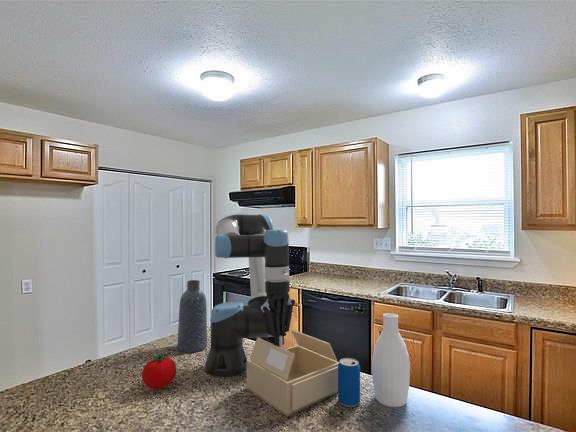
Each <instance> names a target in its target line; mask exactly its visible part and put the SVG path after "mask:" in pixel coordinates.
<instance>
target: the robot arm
mask: <svg viewBox="0 0 576 432" xmlns="http://www.w3.org/2000/svg"><path fill="white" fill-rule="evenodd" d="M215 234H216V236H215V239H214V255H215V257H216V258H218V259H219V258H220V259H221V258H222V259H223V258H224V259H235V258H243V259H244V258H248V268H249V282H250V283H249V284H250V299H248V301H247V305H244V303H243V301H239V300H238V301H234V300H231V301H226V302H221V303H219V304H216V305H214V306H213V308H212V309H211V313H210V314H211V316H210V320H209V321H210V348H209V351H208V354H207V358H206V361H205V363H204V365H205V366H204V368H205V369H204V370H205V372H206V373H207V374H208V375H210V376H213V377H217V378H221V377H222V378H227V377H234V376H237V375H240V374H242V373H244V372H245V371H247V361H248V359H247V355H246V352H245V349H244V344H243V343H244V341H243V340H244V339H255V338H256V339H257V337H258V338H270V337H272V338H273V339H272V340H273V342H272V344H274V345H276V346H278V347H280V348H283V349H284V345H285V337H286V336H287V332H289V331H290V327H291V322H292V313H293V309H294V306H295V303H296V300H295V299H292V298H290V294H289V293H290V289H291V286H290V285H291V284H290V280H289V278H290V257H289V256H290V254H289V253H290V249H289V248H290V247H289V246H290V245H289V244H290V243H289V242H290V238H289V232H288V230H287V229H274V224H273V221H272V218H271V217H270V216H269V215H266V214H238V213H237V214H231V215H227V216H225V217H223V218H221V219H220V220H219V221H218V222H217V224H216V225H215Z"/></svg>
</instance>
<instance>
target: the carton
mask: <svg viewBox="0 0 576 432" xmlns="http://www.w3.org/2000/svg"><path fill="white" fill-rule="evenodd" d="M284 349H285V350H287V351H289V352H291V353H294V354H295V356H294V359H293V362H292V365H291V368H290V372H289V375H288V378H287V380H286V379H284V378H282V377H280V376H279V375H277V374H275V373H273V372H271V371H270V370H268V369H266V368H264V367H262V366H261V365H259V364H257V363H255V362H253V361H252V360H250V359H247V369H246V390H247V391H249V393H251V394H253V395H255V397H257V398H259V399H260V400H262V401H263V402H264V403H265V404H266V403H267V405H269V406H271V407H272V408H273V409H274V410H277V411H278V412H279V413H281V415H284V416H285V417H287V418H288V417H289V416H291V415H294V414H295V413H299V411H302V410H304V409H306V408H309V407H311V406H313V405H315V404H317V403H319V402H322V401H324V400H325V399H327V398H329V397H333V396H334V395H336V394H338V364H339V363H340V361H338V360H337V361H335V360H332V359H330V358H327V357H325V356H323V355H320V354H318V353H315V352H313V351H311V350H308V349H306V348H303V347H301V346H299V345H298V344H297V345H295V346H291V347H288V348H284Z"/></svg>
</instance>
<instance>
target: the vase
mask: <svg viewBox="0 0 576 432" xmlns="http://www.w3.org/2000/svg"><path fill="white" fill-rule="evenodd" d="M200 282H201V281H200V280H195V279H191V280H187V282H186V284H187V285H186V290H185V291H184V292H183V293H182V295H181V297H180V298H179V309H178V324H177V325H178V328H177V347H176V348H177V350H178V351H179V352H182V353H196V352H200V351H203V350H205V349H206V348H207V347H208V323H207V322H208V321H207V320H208V319H207V318H208V317H207V315H208V314H207V313H208V312H207V311H208V310H207V297H206V294H205V293H204V292H203V291H202V289H200V287H201V286H200V285H201V283H200Z"/></svg>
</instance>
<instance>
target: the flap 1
mask: <svg viewBox="0 0 576 432" xmlns="http://www.w3.org/2000/svg"><path fill="white" fill-rule="evenodd" d="M285 349H286V348H284V347H283V348H280V347H278V346H276V345H274V344H273V342H272V343H271V342H270V341H267V340H264V339H262V338H261V337H257V338H256V339H255V343H254V345H253V349H252V351H251V355H250V357H249V360H252V361H253V362H255V363H257V364H259V365H261V366H262V367H264V368H266V369H268V370H270V371H271V372H273V373H275V374H277V375H279V376H280V377H282V378H284V379H286V380H287V378H288V375H289V372H290V368H291V365H292V362H293V359H294V356H295V354H294V353H291V352H289V351H287V350H285Z"/></svg>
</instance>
